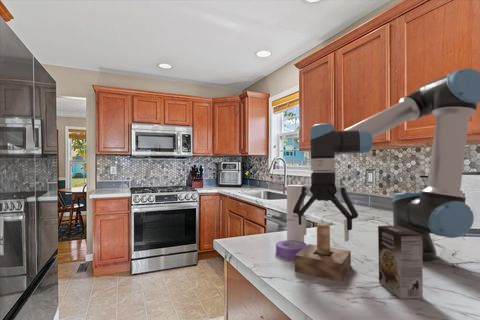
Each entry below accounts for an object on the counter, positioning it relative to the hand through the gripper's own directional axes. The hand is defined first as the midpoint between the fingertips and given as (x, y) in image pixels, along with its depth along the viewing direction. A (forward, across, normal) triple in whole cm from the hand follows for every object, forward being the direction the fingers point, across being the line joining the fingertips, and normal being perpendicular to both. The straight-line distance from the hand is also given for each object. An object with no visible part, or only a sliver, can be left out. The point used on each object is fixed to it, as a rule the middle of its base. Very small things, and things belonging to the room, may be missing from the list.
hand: (324, 237), depth 84 cm
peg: (+10, 0, 0) cm, 10 cm away
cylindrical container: (+10, -18, +20) cm, 28 cm away
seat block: (+10, 0, 0) cm, 10 cm away
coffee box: (+10, +20, -4) cm, 23 cm away
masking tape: (+10, -14, +8) cm, 19 cm away
